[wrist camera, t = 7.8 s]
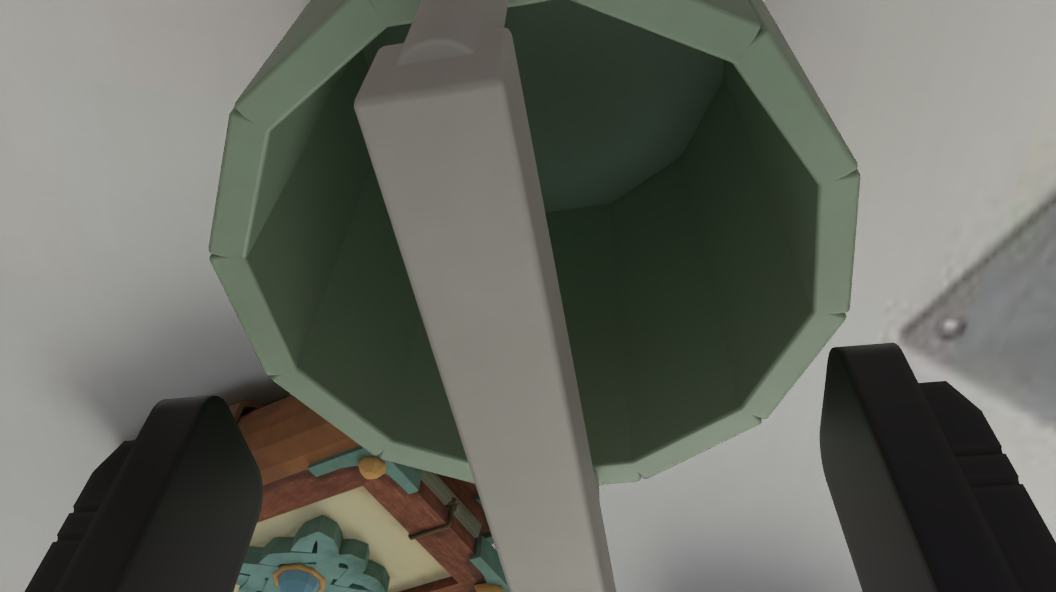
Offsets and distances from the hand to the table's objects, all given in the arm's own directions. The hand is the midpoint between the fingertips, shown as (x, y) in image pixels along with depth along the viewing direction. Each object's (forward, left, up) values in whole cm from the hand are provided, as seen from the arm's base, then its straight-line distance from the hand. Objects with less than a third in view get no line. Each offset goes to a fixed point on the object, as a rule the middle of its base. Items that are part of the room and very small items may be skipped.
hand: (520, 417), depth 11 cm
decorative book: (-14, -17, -14) cm, 26 cm away
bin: (0, 0, -13) cm, 13 cm away
